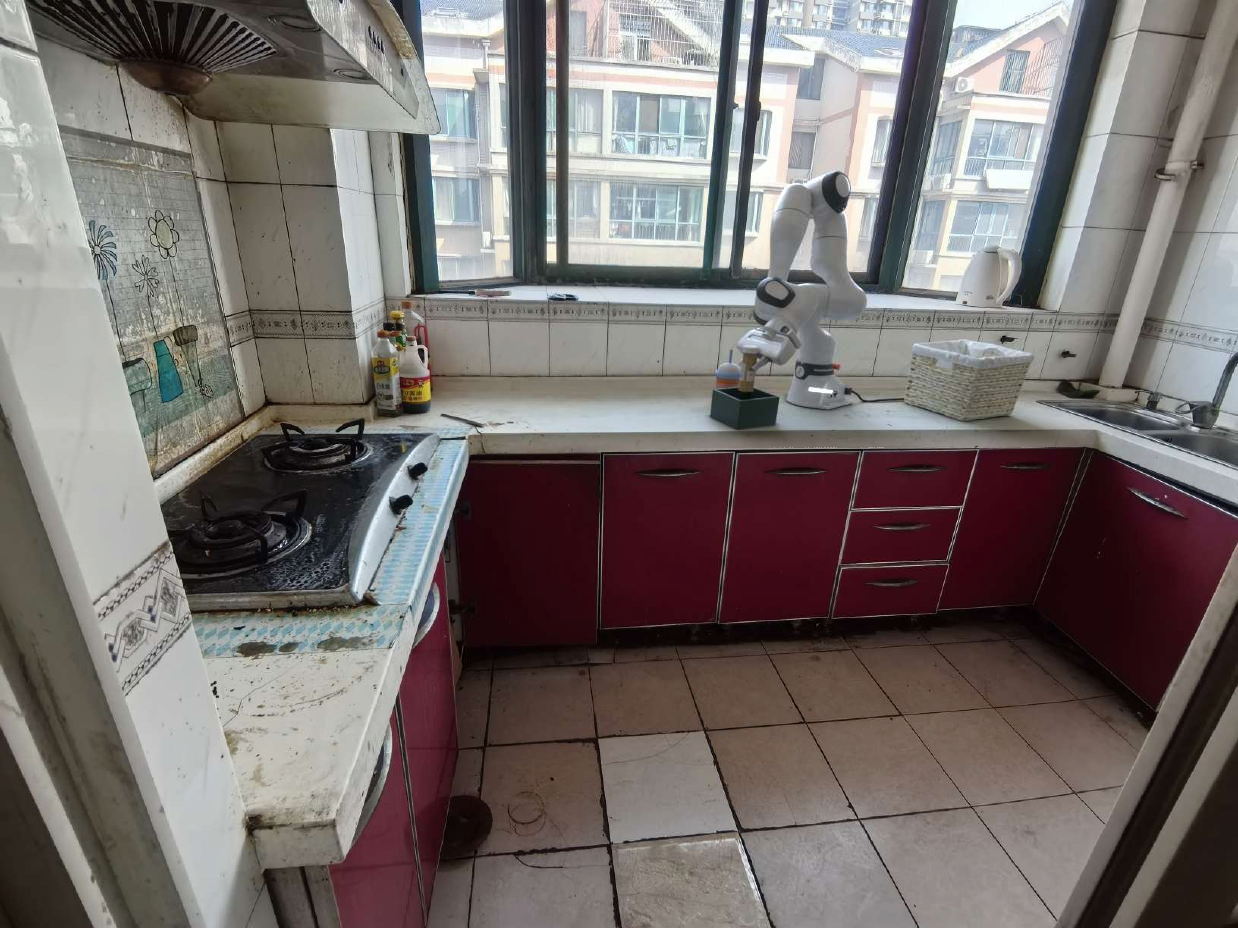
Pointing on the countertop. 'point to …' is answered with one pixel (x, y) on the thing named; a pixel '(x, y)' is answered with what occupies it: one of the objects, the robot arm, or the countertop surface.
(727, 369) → the cup with straw
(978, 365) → the basket
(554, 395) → the countertop surface
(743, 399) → the bin
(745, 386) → the sprinkles bottle
